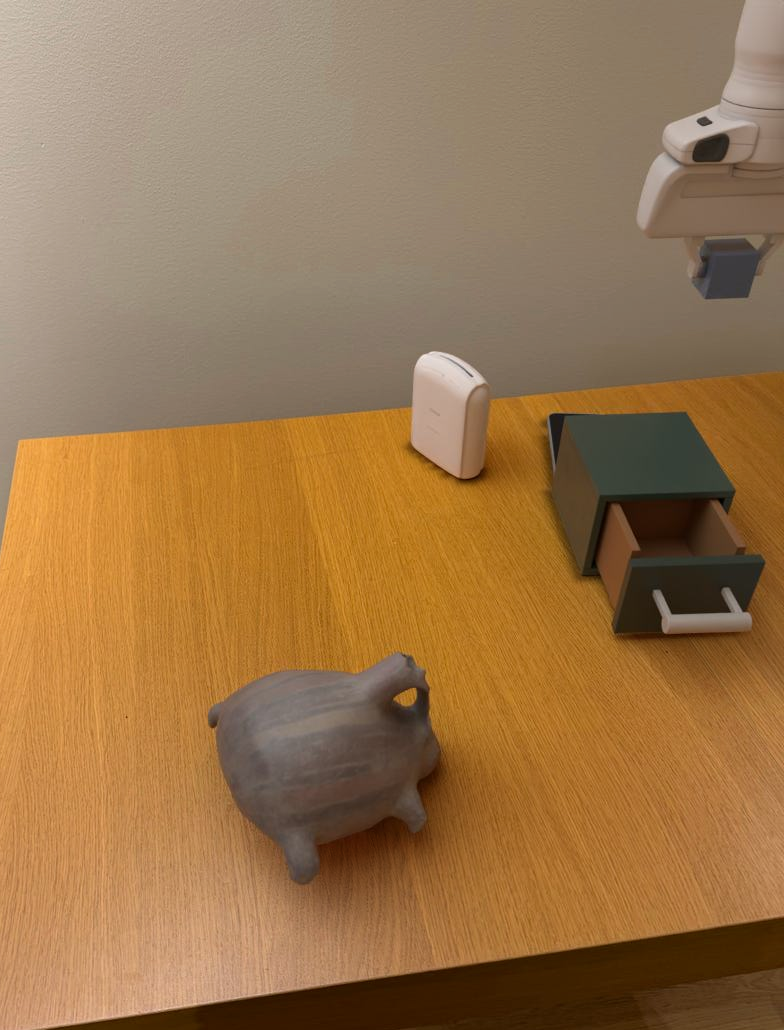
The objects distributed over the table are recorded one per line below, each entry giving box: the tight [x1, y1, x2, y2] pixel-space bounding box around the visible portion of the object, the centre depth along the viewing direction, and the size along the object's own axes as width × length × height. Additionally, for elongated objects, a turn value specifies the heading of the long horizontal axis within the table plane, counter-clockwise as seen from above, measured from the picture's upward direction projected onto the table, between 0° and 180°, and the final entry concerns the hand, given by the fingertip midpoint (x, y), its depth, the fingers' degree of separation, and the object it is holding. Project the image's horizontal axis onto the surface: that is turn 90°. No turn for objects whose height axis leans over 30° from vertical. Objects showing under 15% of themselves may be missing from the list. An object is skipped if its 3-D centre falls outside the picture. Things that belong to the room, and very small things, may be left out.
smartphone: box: [546, 412, 604, 475], centre depth 107 cm, size 7×1×15 cm
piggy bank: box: [207, 651, 442, 886], centre depth 69 cm, size 18×16×14 cm
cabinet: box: [550, 411, 737, 576], centre depth 93 cm, size 15×13×10 cm
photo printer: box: [410, 351, 492, 480], centre depth 104 cm, size 10×4×12 cm, turn 32°
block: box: [691, 237, 761, 300], centre depth 98 cm, size 5×5×5 cm
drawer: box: [594, 498, 766, 635], centre depth 84 cm, size 18×11×8 cm, turn 1°
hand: (723, 275), depth 98 cm, fingers closed on block, 4 cm apart
